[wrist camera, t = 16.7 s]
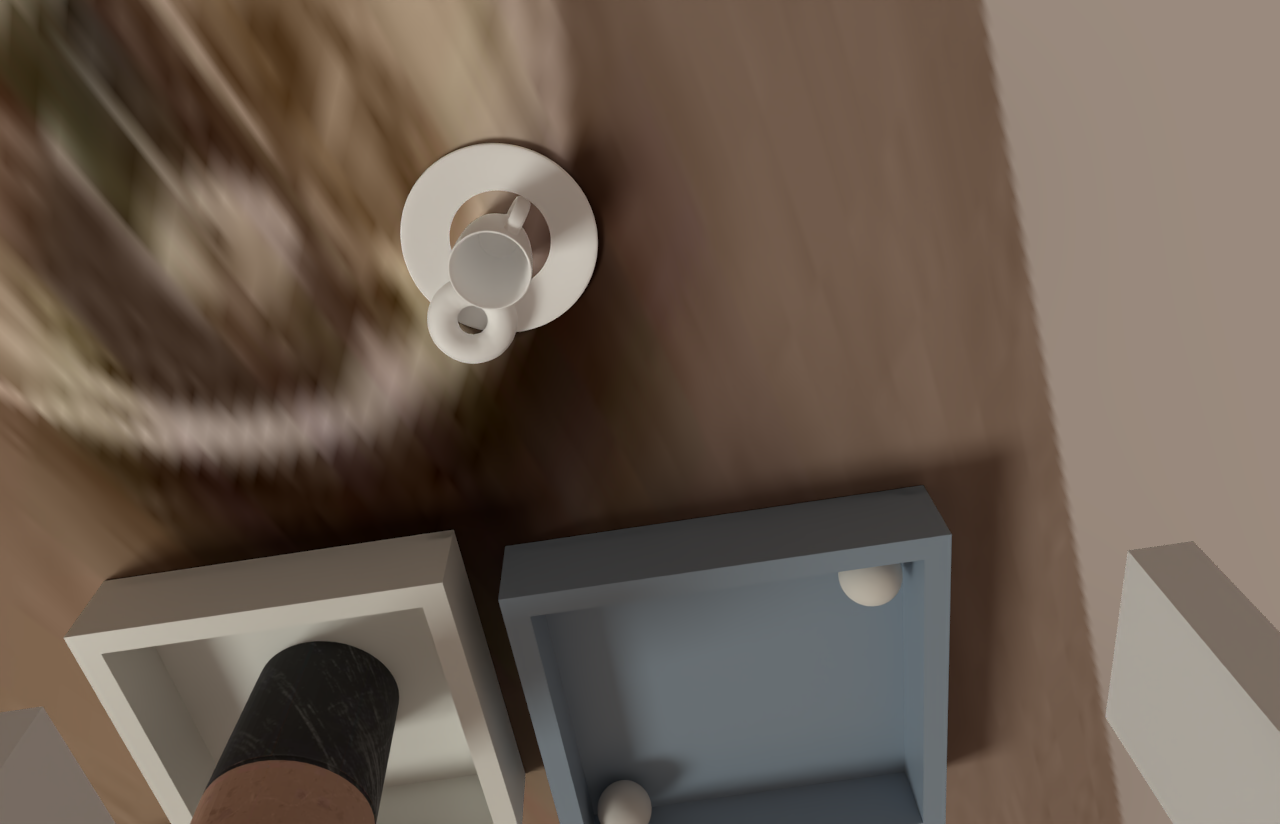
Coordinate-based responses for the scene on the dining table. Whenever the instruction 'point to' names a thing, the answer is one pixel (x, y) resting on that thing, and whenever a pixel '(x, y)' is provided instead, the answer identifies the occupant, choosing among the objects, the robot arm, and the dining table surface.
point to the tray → (293, 614)
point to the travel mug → (307, 742)
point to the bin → (741, 664)
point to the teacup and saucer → (495, 248)
